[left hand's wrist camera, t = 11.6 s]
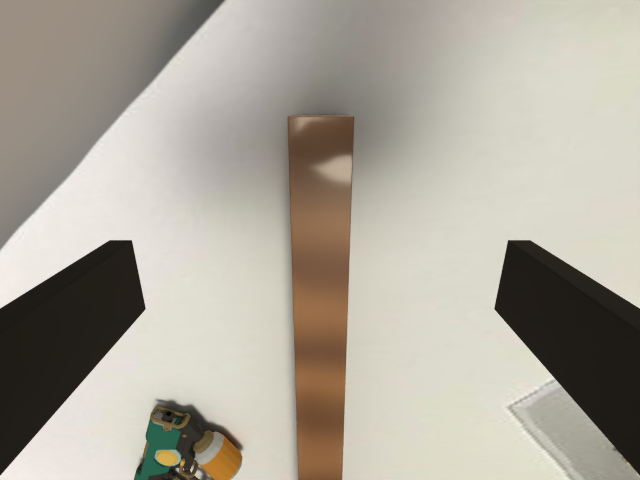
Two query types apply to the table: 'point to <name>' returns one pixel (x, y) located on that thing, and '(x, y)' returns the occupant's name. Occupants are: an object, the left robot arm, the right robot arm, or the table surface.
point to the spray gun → (185, 449)
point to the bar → (320, 284)
